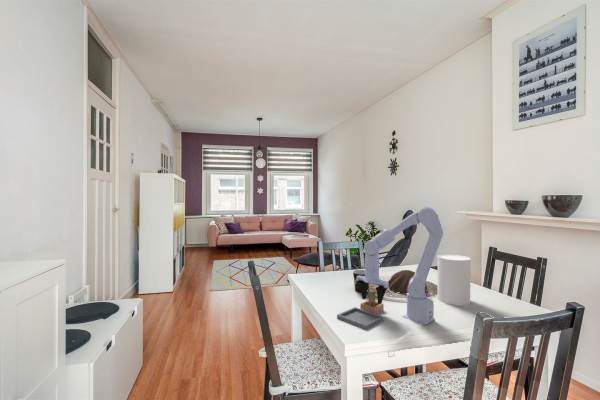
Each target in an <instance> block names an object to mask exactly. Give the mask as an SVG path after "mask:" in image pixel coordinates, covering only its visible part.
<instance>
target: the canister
mask: <svg viewBox="0 0 600 400" xmlns="http://www.w3.org/2000/svg"><path fill="white" fill-rule="evenodd" d="M471 260H472V258H470V257H469V256H465V255H461V254H451V253H446V254H443V253H440V254H438V255H437V276H436V277H437V294H436V296H437V300H438V301H440V302H441V303H444V304H446V305H452V306H459V307H460V306H462V307H463V306H469V305H470V304H471Z"/></svg>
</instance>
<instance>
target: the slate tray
mask: <svg viewBox="0 0 600 400" xmlns="http://www.w3.org/2000/svg"><path fill="white" fill-rule="evenodd" d="M336 318H337V319H338V320H341V321H343V322H346V323H348V324H350V325H353V326H356V327H358V328H360V329H362V330H368V329H370V328H372V327H375V325H377V324H379V323H382V322H383V321H384V319H385V318H384V316H382V315H380V314H378V313H377V314H374V313H371V312H368V311H365V310H362V309H360V308H358V307H356V306H355V307H352V308H350V309H348V310H345V311H342V312H341V313H338V314H337V315H336Z"/></svg>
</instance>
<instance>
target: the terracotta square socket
mask: <svg viewBox="0 0 600 400" xmlns="http://www.w3.org/2000/svg"><path fill="white" fill-rule="evenodd" d="M359 307H360V308H359V309H362V310H365V311H368V312H371V313H374V314H377V315H378V314H380V313H381V312H383V311H384V303H383V302H382V303H381V304H378V302H377V301H375V306H374V307H372V306H369V299H368V300H366V301H364V302H361V303H360V305H359Z"/></svg>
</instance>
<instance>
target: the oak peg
mask: <svg viewBox="0 0 600 400" xmlns="http://www.w3.org/2000/svg"><path fill="white" fill-rule="evenodd" d="M368 300H369V306H372V307H374V306H375V302H376V291H375V290H371V289H370V290H369V289H368Z"/></svg>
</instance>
